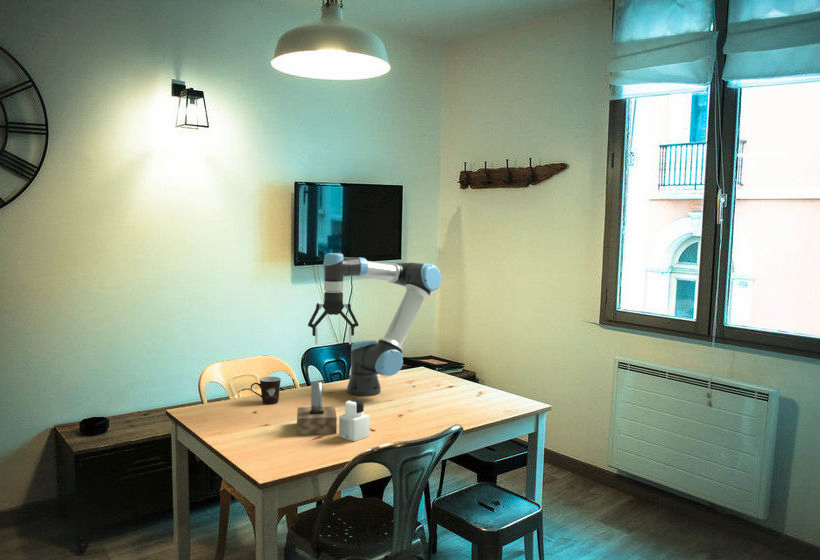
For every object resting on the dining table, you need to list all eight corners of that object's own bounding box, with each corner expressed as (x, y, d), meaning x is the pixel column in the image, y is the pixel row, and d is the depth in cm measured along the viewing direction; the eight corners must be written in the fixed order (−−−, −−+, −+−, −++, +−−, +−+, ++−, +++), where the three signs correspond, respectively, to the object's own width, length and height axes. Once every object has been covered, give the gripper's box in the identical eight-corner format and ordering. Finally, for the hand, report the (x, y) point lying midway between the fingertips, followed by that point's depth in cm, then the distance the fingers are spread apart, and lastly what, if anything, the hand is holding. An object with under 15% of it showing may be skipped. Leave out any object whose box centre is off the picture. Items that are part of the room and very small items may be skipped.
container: (353, 431, 231) (354, 396, 230) (369, 436, 227) (369, 400, 226) (338, 437, 226) (338, 401, 224) (354, 441, 221) (354, 405, 220)
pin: (321, 420, 237) (322, 381, 236) (322, 424, 233) (322, 383, 232) (311, 421, 236) (311, 381, 235) (311, 424, 232) (311, 383, 231)
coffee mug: (283, 400, 272) (283, 377, 271) (277, 405, 263) (277, 381, 262) (256, 399, 273) (256, 375, 272) (249, 404, 264) (249, 380, 263)
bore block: (334, 421, 243) (334, 406, 242) (336, 433, 229) (336, 417, 228) (297, 423, 240) (297, 407, 240) (296, 435, 227) (297, 418, 226)
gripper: (363, 290, 262) (363, 341, 264) (302, 290, 258) (302, 342, 260) (365, 292, 255) (364, 345, 257) (302, 292, 251) (301, 345, 253)
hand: (333, 343), depth 258 cm, fingers open, 13 cm apart
